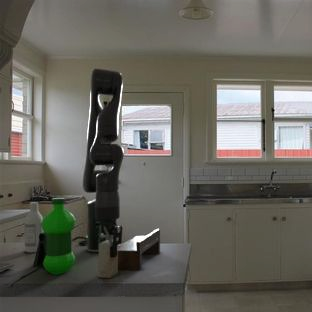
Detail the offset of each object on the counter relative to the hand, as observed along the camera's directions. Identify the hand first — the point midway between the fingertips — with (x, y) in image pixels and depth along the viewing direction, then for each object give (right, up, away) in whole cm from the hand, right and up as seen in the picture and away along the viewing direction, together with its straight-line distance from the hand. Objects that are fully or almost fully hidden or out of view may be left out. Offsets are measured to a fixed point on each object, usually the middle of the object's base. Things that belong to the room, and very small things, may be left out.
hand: (108, 255), depth 120 cm
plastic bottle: (-18, -7, +4) cm, 20 cm away
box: (0, -7, 0) cm, 7 cm away
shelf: (+5, -6, +17) cm, 19 cm away
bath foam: (-42, -7, +32) cm, 53 cm away
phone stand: (-26, -7, +12) cm, 29 cm away
